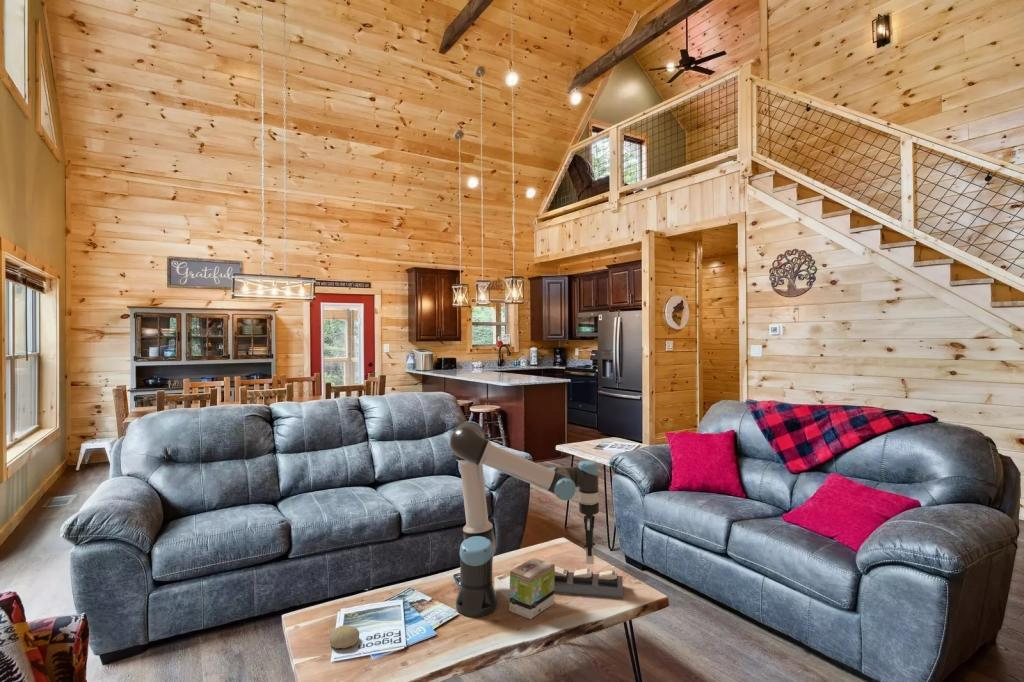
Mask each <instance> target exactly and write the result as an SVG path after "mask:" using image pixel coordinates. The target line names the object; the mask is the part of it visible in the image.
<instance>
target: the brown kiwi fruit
mask: <svg viewBox="0 0 1024 682" xmlns="http://www.w3.org/2000/svg"><path fill="white" fill-rule="evenodd" d="M359 640H360V630H359V629H358V628H356V627H354V626H352V625H347V624H346V625H345V624H342V625H340V626H337V627H336V628H335V629H333V630H332V631H331V632H330V634H329V643H330V645H331V647H332V648H334V647H335V648H334V649H336V648H342V649H346V648H345V647H349V646H352V645H353V646H354V645H356V643H357V642H358V641H359ZM353 646H352V647H353ZM349 648H350V647H349Z"/></svg>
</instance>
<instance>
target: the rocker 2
mask: <svg viewBox="0 0 1024 682" xmlns="http://www.w3.org/2000/svg"><path fill="white" fill-rule="evenodd" d="M574 571H575V572H574ZM574 571H573V572H574V577H580V578H588V577H591V576H592V572H593V571H592V568H591V567H588V568H581V569H577V570H575V569H574Z"/></svg>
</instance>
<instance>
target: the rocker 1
mask: <svg viewBox="0 0 1024 682" xmlns="http://www.w3.org/2000/svg"><path fill="white" fill-rule="evenodd" d="M567 570H568V569H565V568H562V567H560V566H557V565H555V576H566V575H567Z"/></svg>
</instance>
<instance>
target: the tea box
mask: <svg viewBox="0 0 1024 682" xmlns="http://www.w3.org/2000/svg"><path fill="white" fill-rule="evenodd" d="M555 566H556V565H555V564H554V563H552V562H549V561H545V560H541V559H538V558H535V557H532V558H531V559H529V560H527V561H525V562H524V563H522V564H520V565H519V566H517V567H515V568H513V569H511V570H509V606H508V607H509V608H508V609H509V612H511V613H513V614H517V615H518V616H521V617H524V618H527V619H529V620H532V619H533V618H534V617H536V616H537V615H539V614H540V613H541V612H543V611H545V610H546V609H547V608H549V607H550V606H552V605H554V604H555V593H554V590H555V585H554V583H555Z"/></svg>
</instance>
